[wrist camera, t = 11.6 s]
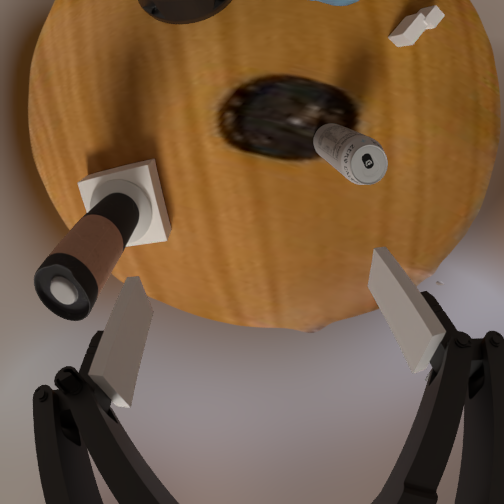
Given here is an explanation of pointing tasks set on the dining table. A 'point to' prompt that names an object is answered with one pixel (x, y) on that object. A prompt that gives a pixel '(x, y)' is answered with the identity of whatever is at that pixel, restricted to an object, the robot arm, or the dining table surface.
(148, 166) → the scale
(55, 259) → the travel mug
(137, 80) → the dining table surface
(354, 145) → the energy drink can
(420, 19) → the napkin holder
